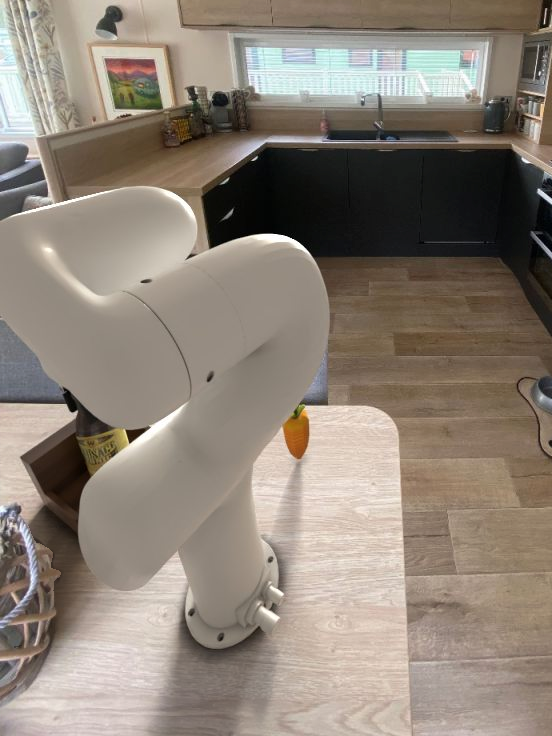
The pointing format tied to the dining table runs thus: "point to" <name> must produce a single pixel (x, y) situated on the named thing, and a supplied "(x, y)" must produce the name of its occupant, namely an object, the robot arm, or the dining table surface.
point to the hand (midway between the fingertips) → (90, 410)
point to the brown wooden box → (62, 471)
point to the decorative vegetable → (297, 432)
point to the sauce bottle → (98, 440)
